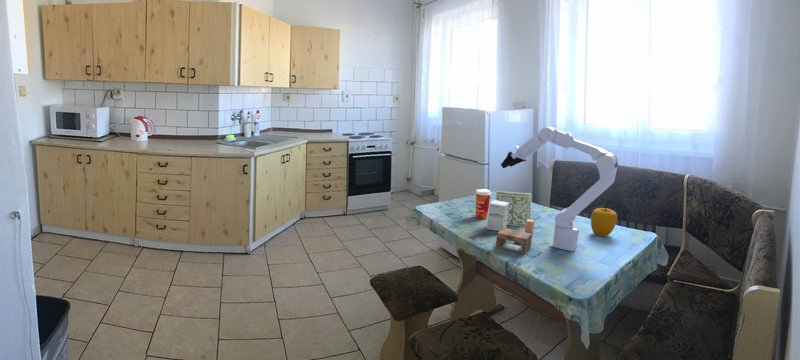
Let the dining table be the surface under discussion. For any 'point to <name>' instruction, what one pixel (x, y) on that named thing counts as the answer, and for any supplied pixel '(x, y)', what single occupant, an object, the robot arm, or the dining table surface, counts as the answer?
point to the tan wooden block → (528, 227)
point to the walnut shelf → (514, 238)
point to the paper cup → (482, 203)
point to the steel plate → (512, 247)
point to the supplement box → (497, 215)
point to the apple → (603, 221)
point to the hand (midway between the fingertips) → (505, 165)
